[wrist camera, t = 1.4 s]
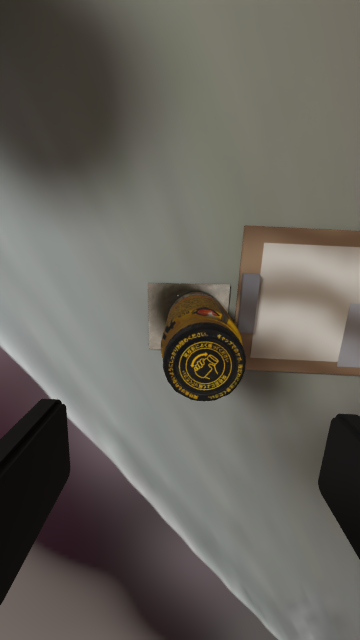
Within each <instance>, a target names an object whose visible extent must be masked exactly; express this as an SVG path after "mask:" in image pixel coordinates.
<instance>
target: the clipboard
mask: <svg viewBox="0 0 360 640" xmlns="http://www.w3.org/2000/svg"><path fill="white" fill-rule="evenodd" d="M234 323H235V324H236V326H237V327H238V330H239V332H240V334H241V338H242V344H243V345H242V346H243V349H244V351H245V355H246V365H245V370H261V371H281V372H301V373H320V374H340V375H359V376H360V231H349V230H328V229H307V228H286V227H265V226H244V235H243V245H242V254H241V264H240V274H239V283H238V293H237V303H236V312H235V322H234Z"/></svg>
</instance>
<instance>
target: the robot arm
mask: <svg viewBox="0 0 360 640" xmlns="http://www.w3.org/2000/svg"><path fill="white" fill-rule="evenodd" d="M69 473H70V457H69V442H68V428H67V413H66V406H65V404H62V403H61V401H60V400H57V399H41V400H40V401H39V402H38V403H37V404H36V405H35V406H34V407H33V408H32V409H31V410H30V411H29V412H28V413H27V414H26V415H25V416H24V417H23V418H22V419H21V420H20V421H18V423H16V424H15V425H14V426H13V427H12V428H11V429H10V430H9V431H8V432H7V433H6V434H5V435H4V436H3V437H2V438H1V439H0V605H1V603H2V602H3V600H4V598H5V596H6V594H7V593H8V590H9V589H10V587H11V585H12V583H13V581H14V579H15V577H16V576H17V574H18V572H19V570H20V568H21V566H22V564H23V562H24V560H25V559H26V557H27V555H28V553H29V551H30V549H31V547H32V545H33V544H34V542H35V540H36V538H37V536H38V534H39V532H40V530H41V528H42V527H43V525H44V523H45V521H46V519H47V517H48V515H49V513H50V511H51V510H52V508H53V506H54V504H55V502H56V500H57V498H58V496H59V495H60V493H61V491H62V489H63V487H64V485H65V483H66V481H67V479H68V477H69ZM318 485H319V489H320V492H321V494H322V496H323V498H324V499H325V501H326V503H327V504H328V506H329V508H330V509H331V511H332V513H333V515H334V516H335V518H336V520H337V521H338V523H339V525H340V527H341V528H342V530H343V532H344V533H345V535H346V537H347V539H348V540H349V542H350V544H351V545H352V547H353V549H354V551H355V552H356V554H357V556H358V557H359V559H360V416H358V415H353V414H338V415H337V416H336V418H333V419H332V420H331V424H330V428H329V433H328V438H327V442H326V447H325V452H324V456H323V461H322V466H321V470H320V475H319V480H318Z"/></svg>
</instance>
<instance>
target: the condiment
mask: <svg viewBox="0 0 360 640" xmlns="http://www.w3.org/2000/svg"><path fill="white" fill-rule="evenodd" d="M229 293H230V285H225V284H173V283H148V304H149V305H148V308H149V349H161V353H162V358H163V369H164V372H165V375H166V378H167V380H168V382H169V383H170V384H171V386H172V387H173V389H174V390H175V391H176V392H178V393H180V394H181V395H183V396H185V397H187V398H189V399H191V400H196V401H212V400H217V399H219V398H221V397H223V396H226V395H228V394H230V393H231V392H232V391H233V390H234V389H235V388H236V387H237V385H238V384H239V382H240V381H241V379H242V377H243V374H244V371H245V365H246V355H245V351H244V349H243V346H242V345H243V344H242V338H241V334H240V332H239V330H238V327H237V326H236V324H235V323H234V321H233V320H232V319H231V317H230V316H229V314H228V306H229ZM177 295H179V296H177Z"/></svg>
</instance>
